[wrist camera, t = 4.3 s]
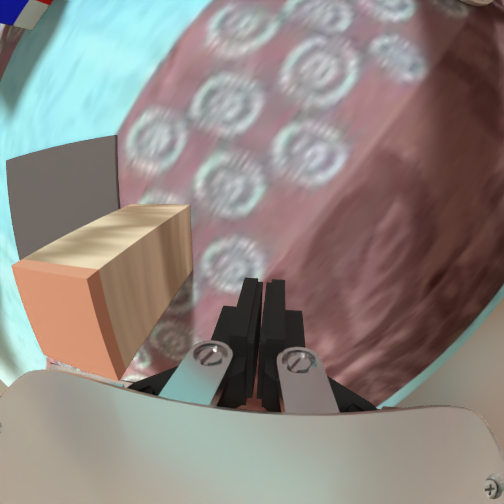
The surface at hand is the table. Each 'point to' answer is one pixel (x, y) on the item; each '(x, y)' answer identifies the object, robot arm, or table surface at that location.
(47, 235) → the mat
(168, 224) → the tall block
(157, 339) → the table surface
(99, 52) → the table surface
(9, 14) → the puzzle toy
